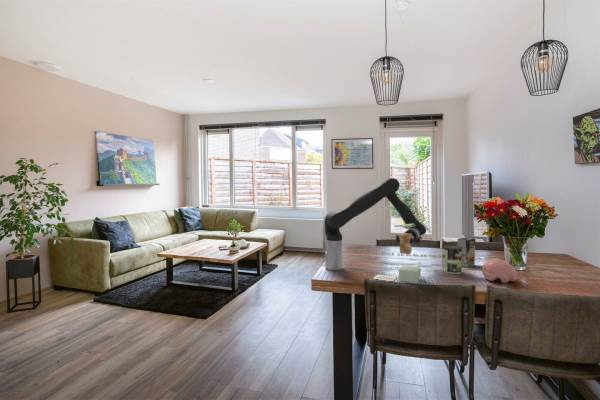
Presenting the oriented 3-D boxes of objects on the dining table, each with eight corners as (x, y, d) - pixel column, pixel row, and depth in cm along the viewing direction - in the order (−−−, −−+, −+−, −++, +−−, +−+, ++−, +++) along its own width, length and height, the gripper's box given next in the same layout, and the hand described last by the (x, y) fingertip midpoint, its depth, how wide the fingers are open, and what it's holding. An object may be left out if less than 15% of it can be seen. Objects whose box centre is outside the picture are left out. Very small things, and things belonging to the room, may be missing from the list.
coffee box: (467, 267, 188) (467, 240, 187) (456, 265, 194) (457, 238, 192) (475, 265, 194) (475, 238, 192) (464, 262, 199) (465, 237, 198)
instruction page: (373, 278, 170) (373, 278, 170) (377, 274, 177) (377, 274, 177) (392, 281, 165) (392, 281, 165) (396, 277, 171) (396, 276, 171)
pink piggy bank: (504, 285, 170) (515, 264, 168) (515, 293, 157) (527, 271, 156) (474, 272, 172) (485, 251, 171) (483, 279, 160) (494, 257, 158)
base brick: (398, 280, 166) (398, 269, 166) (403, 276, 174) (403, 265, 174) (417, 283, 162) (417, 271, 161) (420, 278, 169) (420, 267, 169)
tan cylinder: (399, 253, 169) (399, 234, 168) (401, 251, 174) (401, 232, 173) (409, 254, 167) (409, 235, 166) (411, 252, 171) (411, 233, 170)
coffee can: (465, 271, 180) (465, 247, 179) (455, 275, 174) (456, 249, 173) (447, 267, 188) (448, 244, 187) (437, 271, 182) (438, 246, 181)
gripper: (398, 228, 185) (390, 233, 171) (424, 230, 178) (419, 235, 163) (398, 241, 186) (390, 247, 171) (424, 243, 179) (419, 249, 164)
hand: (404, 241), depth 167 cm, fingers closed on tan cylinder, 5 cm apart
